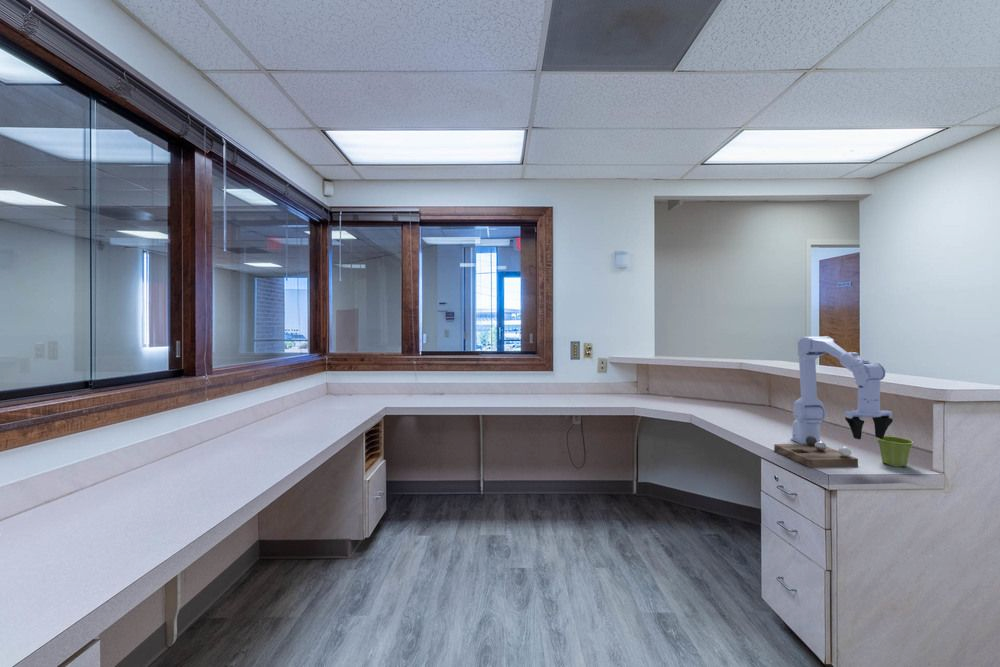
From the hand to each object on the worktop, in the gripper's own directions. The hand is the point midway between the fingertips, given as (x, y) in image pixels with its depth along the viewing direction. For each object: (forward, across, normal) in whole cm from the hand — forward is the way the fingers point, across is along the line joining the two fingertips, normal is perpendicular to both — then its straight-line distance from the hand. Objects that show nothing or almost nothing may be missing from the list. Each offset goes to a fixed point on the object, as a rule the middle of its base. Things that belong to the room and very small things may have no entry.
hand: (868, 438), depth 141 cm
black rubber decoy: (+6, -7, +17) cm, 19 cm away
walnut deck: (+10, -11, +10) cm, 18 cm away
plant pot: (+10, +11, +2) cm, 15 cm away
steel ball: (+6, -8, +10) cm, 14 cm away
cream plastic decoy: (+6, -5, +4) cm, 8 cm away
